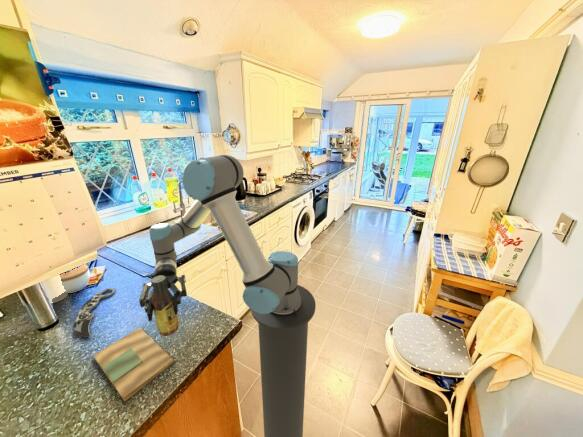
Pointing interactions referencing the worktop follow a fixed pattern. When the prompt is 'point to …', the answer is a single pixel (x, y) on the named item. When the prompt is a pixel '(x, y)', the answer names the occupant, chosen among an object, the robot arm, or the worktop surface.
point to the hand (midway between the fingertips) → (162, 313)
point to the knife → (88, 313)
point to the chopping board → (132, 362)
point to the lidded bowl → (75, 279)
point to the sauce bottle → (164, 307)
